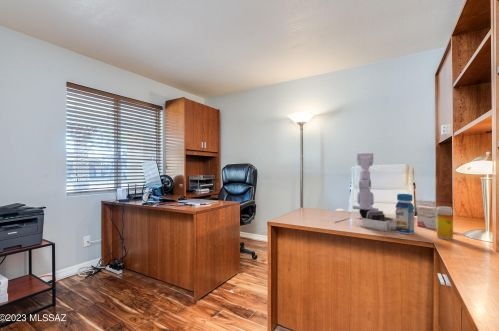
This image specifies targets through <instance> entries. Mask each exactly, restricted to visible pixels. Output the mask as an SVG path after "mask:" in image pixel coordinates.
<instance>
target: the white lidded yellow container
mask: <svg viewBox="0 0 499 331" xmlns="http://www.w3.org/2000/svg"><path fill="white" fill-rule="evenodd" d="M453 215H454V210H453V208H452V206H445V205H441V206H440V205H439V206H436V237H438V239H440V240H447V241H448V240H452V239H454V225H453V224H454V216H453Z"/></svg>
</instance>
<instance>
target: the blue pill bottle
mask: <svg viewBox="0 0 499 331" xmlns="http://www.w3.org/2000/svg"><path fill="white" fill-rule="evenodd" d="M396 200H397V203H396V204H395V208H396V209H395V211H394V212H395V213H394V214H395V218H396V228H395V232H397V233H399V234H403V235H413V234H414V233H415V211H414V210H415V206H414V204H413V203H412V201H413V195H412V194H409V193H397V195H396Z"/></svg>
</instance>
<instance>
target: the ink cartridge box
mask: <svg viewBox="0 0 499 331" xmlns="http://www.w3.org/2000/svg"><path fill="white" fill-rule="evenodd" d="M416 209H417V210H416V211H417V216H416V217H417V218H416V223H417V227H419V228H427V229H433V230H434V229H437V202H436V201H432V200H431V201H430V200H419V201H418V206H417V208H416Z"/></svg>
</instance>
